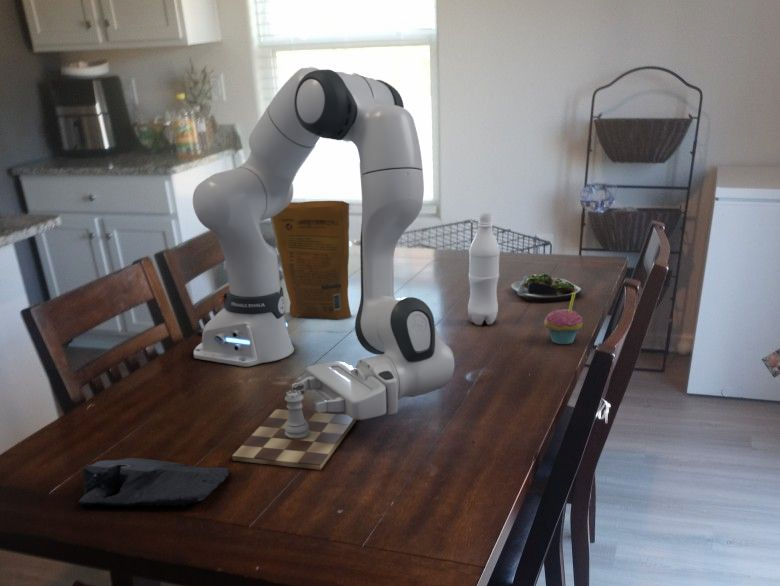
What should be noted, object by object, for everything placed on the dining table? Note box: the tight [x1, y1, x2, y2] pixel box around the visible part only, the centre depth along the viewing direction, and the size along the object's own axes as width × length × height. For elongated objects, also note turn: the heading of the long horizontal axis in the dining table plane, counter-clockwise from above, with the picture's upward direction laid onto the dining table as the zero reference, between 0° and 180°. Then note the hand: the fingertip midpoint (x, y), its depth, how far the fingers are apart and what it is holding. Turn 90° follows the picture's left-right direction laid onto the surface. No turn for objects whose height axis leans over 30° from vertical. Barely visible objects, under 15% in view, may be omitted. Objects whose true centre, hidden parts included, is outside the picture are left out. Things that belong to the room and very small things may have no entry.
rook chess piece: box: [284, 390, 310, 439], centre depth 148 cm, size 4×4×8 cm
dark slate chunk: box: [78, 457, 230, 508], centre depth 135 cm, size 15×22×5 cm
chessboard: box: [231, 408, 357, 471], centre depth 150 cm, size 16×20×1 cm
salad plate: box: [511, 273, 582, 304], centre depth 222 cm, size 19×18×5 cm
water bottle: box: [467, 212, 501, 326], centre depth 197 cm, size 7×7×25 cm
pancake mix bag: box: [269, 200, 352, 320], centre depth 204 cm, size 7×19×28 cm, turn 75°
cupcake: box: [544, 289, 585, 345], centre depth 187 cm, size 9×8×12 cm
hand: (304, 398), depth 147 cm, fingers open, 8 cm apart
